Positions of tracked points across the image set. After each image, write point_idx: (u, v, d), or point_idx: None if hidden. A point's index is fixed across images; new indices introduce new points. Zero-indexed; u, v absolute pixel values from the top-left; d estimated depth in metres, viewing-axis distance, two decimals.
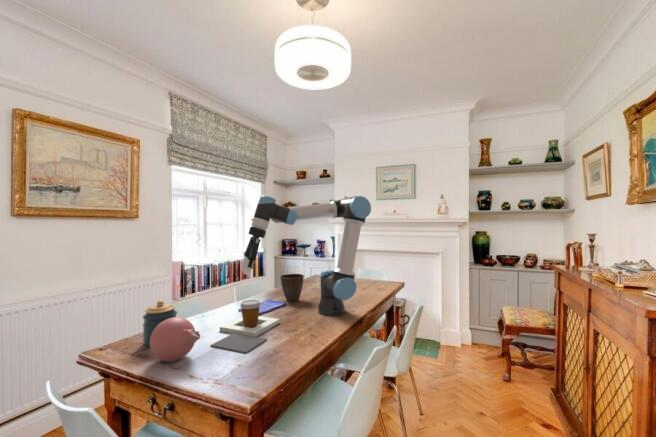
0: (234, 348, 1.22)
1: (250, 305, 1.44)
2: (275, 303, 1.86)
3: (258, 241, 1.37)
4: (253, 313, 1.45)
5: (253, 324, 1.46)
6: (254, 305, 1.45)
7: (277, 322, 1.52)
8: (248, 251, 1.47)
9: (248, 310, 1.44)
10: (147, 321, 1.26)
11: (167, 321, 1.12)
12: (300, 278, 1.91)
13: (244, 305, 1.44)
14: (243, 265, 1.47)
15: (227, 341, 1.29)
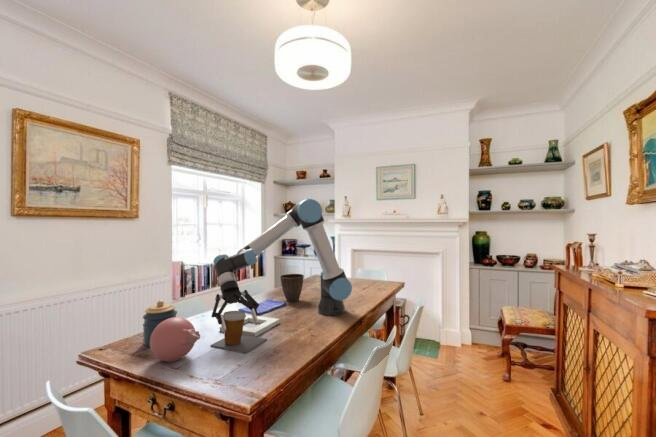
0: (234, 348, 1.22)
1: (234, 316, 1.24)
2: (275, 303, 1.86)
3: (216, 297, 1.31)
4: (236, 325, 1.25)
5: (235, 339, 1.25)
6: (238, 316, 1.25)
7: (277, 322, 1.52)
8: (246, 305, 1.35)
9: (231, 321, 1.24)
10: (147, 321, 1.26)
11: (167, 321, 1.12)
12: (300, 278, 1.91)
13: (227, 316, 1.25)
14: (253, 319, 1.32)
15: None
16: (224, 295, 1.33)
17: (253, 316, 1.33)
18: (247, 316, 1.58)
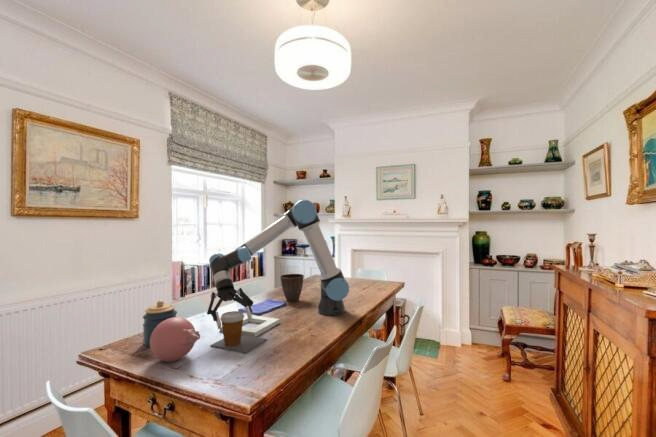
0: (234, 348, 1.22)
1: (231, 318, 1.23)
2: (275, 303, 1.86)
3: (211, 295, 1.35)
4: (234, 327, 1.24)
5: (235, 341, 1.25)
6: (236, 318, 1.24)
7: (277, 322, 1.52)
8: (241, 303, 1.40)
9: (229, 323, 1.23)
10: (147, 321, 1.26)
11: (167, 321, 1.12)
12: (300, 278, 1.91)
13: (224, 318, 1.24)
14: (248, 316, 1.36)
15: None
16: (219, 293, 1.37)
17: (247, 313, 1.37)
18: None
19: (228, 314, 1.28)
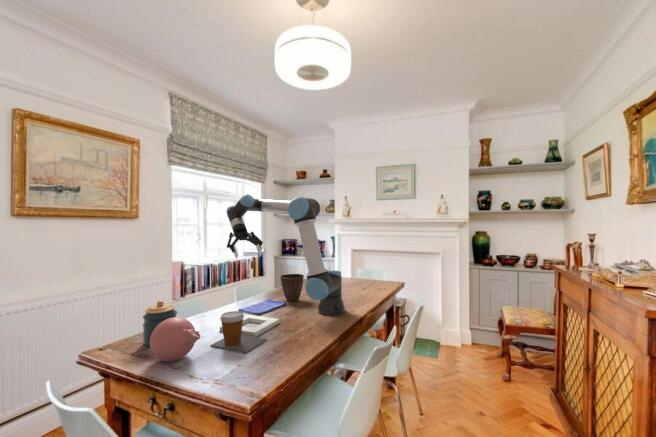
0: (234, 348, 1.22)
1: (231, 318, 1.23)
2: (275, 303, 1.86)
3: (229, 234, 1.70)
4: (234, 327, 1.24)
5: (235, 341, 1.25)
6: (236, 318, 1.24)
7: (277, 322, 1.52)
8: (252, 242, 1.74)
9: (229, 324, 1.23)
10: (147, 321, 1.26)
11: (167, 321, 1.12)
12: (300, 278, 1.91)
13: (224, 318, 1.24)
14: (258, 252, 1.71)
15: None
16: (236, 233, 1.72)
17: (258, 249, 1.71)
18: (247, 316, 1.58)
19: (228, 314, 1.28)
